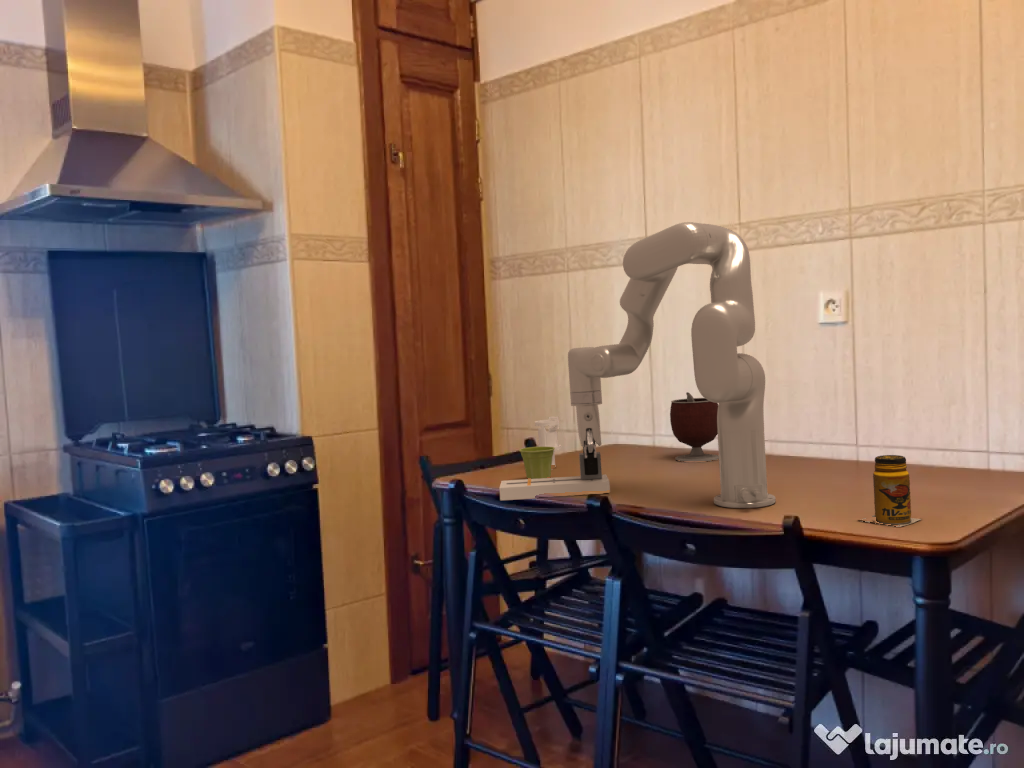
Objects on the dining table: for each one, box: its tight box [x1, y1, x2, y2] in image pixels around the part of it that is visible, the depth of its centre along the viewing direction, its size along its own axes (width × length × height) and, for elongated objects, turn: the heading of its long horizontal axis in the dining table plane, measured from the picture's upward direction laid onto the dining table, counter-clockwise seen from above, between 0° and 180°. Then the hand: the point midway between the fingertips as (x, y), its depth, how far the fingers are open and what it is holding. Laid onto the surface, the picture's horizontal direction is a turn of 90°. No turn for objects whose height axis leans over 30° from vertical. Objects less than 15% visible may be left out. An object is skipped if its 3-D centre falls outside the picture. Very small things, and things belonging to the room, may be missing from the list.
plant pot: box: [518, 446, 555, 479], centre depth 224 cm, size 9×9×9 cm
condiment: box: [862, 454, 922, 528], centre depth 155 cm, size 7×8×12 cm
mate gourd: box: [669, 392, 719, 462], centre depth 242 cm, size 16×14×20 cm
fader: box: [578, 451, 603, 480], centre depth 204 cm, size 3×5×6 cm, turn 88°
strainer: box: [534, 416, 562, 466], centre depth 244 cm, size 7×7×15 cm
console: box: [499, 473, 611, 501], centre depth 205 cm, size 10×26×3 cm, turn 88°
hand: (590, 471), depth 204 cm, fingers open, 6 cm apart
